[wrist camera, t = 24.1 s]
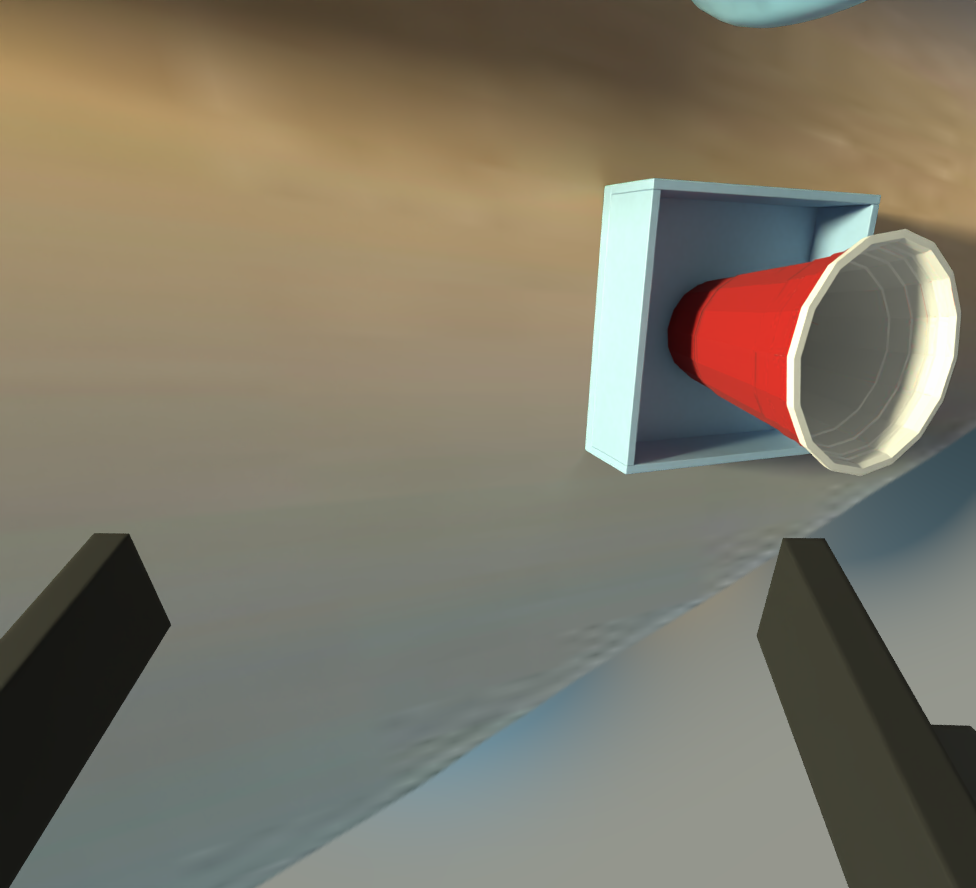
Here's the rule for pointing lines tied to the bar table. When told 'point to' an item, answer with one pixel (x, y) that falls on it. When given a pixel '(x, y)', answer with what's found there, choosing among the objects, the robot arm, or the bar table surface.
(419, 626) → the bar table surface
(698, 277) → the tray
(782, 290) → the plastic cup
